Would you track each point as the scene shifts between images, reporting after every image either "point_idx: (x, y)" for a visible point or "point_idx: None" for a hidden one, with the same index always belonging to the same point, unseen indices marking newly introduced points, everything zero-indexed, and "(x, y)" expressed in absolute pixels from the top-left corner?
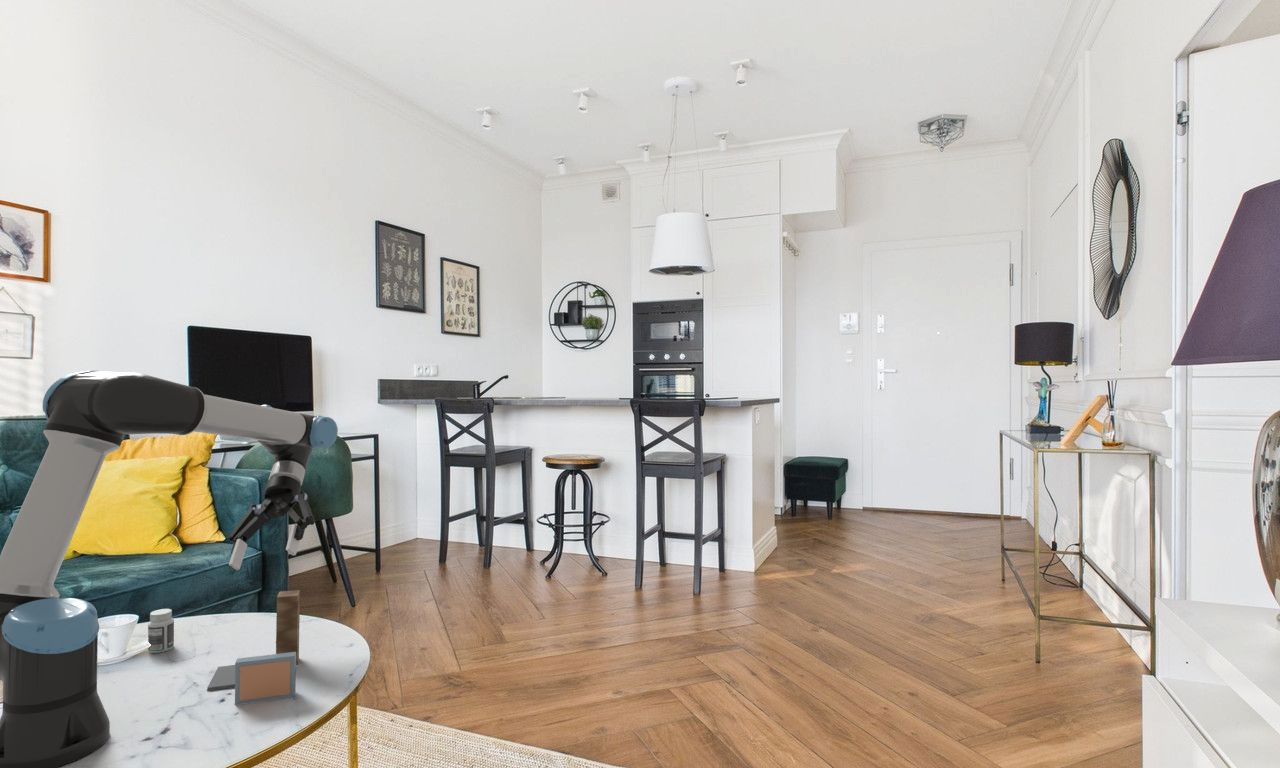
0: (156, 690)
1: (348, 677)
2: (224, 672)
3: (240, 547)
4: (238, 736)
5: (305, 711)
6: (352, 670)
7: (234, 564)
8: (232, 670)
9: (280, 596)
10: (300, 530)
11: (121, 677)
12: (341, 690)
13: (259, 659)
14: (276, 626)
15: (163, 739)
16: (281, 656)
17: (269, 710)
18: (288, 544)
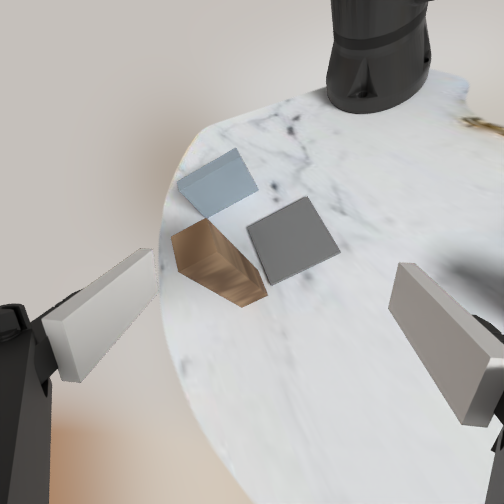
0: (379, 184)
1: (163, 260)
2: (316, 236)
3: (446, 341)
4: (221, 144)
5: None
6: (163, 278)
7: (396, 278)
8: (308, 243)
9: (201, 224)
10: (53, 309)
11: (489, 202)
12: (163, 231)
13: (212, 162)
14: (232, 244)
15: (281, 122)
16: (190, 175)
17: None
18: (134, 256)
